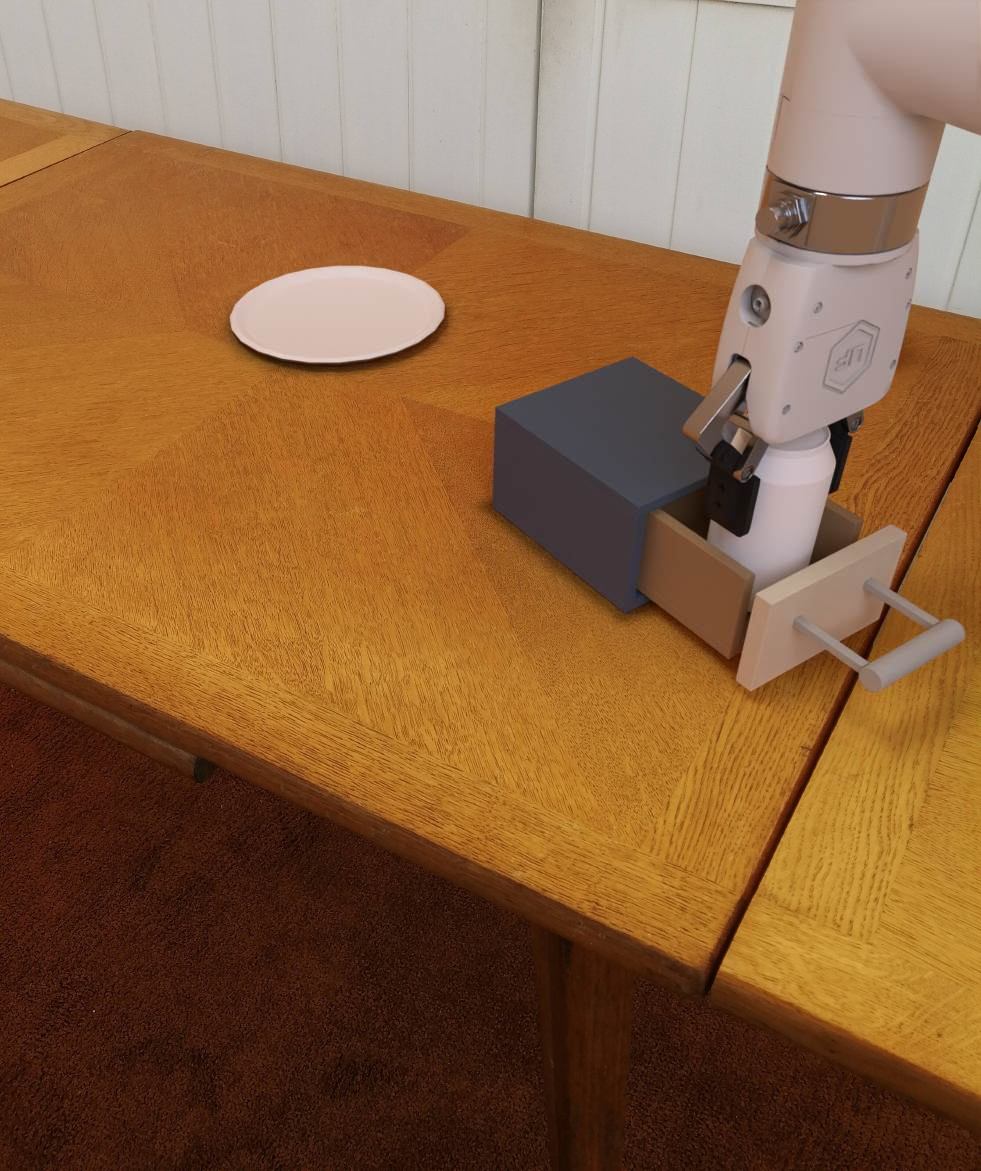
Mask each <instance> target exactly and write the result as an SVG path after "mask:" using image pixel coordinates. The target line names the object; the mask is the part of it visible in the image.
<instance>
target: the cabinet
mask: <svg viewBox="0 0 981 1171" xmlns="http://www.w3.org/2000/svg"><path fill="white" fill-rule="evenodd" d="M705 397H706V396H704V395H702V394H700V393H699V392H697V391H695V390H694V389H691V388H690V387H688V386H686V385H684V384H683V383H681V382H679V381H677V380H675V379H674V378H672V377H670V376H668V375H667V374H665V373H663V372H662V371H660V370H659V369H657V368H655V367H652V366H651V365H650V364H647V363H645V362H644V361H642V360H640V359H638V358H637V357H635V356H629V357H626V358H624V359H621V360H618V361H616V362H613V363H610V364H607V365H605V366H602V367H599V368H597V369H594V370H591V371H589V372H586V373H583V374H580V375H578V376H575V377H572V378H570V379H567V380H564V381H562V382H561V381H560V382H558V383H556V384H554V385H551V386H547V387H545V388H543V389H540V390H537V391H534V392H532V393H529V394H526V395H523V396H521V397H518V398H515V399H513V400H510V401H507V402H505V403H502V404H499V405H497V406H495V408H494V430H493V431H494V433H493V435H494V436H493V439H494V440H493V464H492V465H493V466H492V468H493V470H492V508H493V509H494V510H495V511H496V512H498V514H500V515H501V516H503V518H505V520H508V522H510V523H511V524H512V525H514V526H515V527H516V528H517V529H519V530H520V531H521V532H522V533H524V534H525V535H526V536H527V537H529V538H530V539H531V540H532V541H533V542H535V543H536V544H538V545H539V546H540V547H541V548H542V549H544V550H545V551H546V552H547V553H548V554H549V555H551V556H552V557H553V558H555V559H556V560H557V561H558V562H559V563H561V564H562V565H564V567H566V568H567V569H568V570H570V571H571V572H572V573H574V574H575V575H576V576H577V577H579V578H580V579H581V580H582V581H583V582H585V583H586V584H587V585H588V586H590V587H591V588H592V589H593V590H595V591H596V592H597V593H598V594H599V595H601V596H602V597H604V598H605V599H606V600H607V601H608V602H610V603H611V604H612V605H613V606H615V607H616V608H617V609H618V610H620V611H621V612H622V613H623V614H626V613H629V612H630V611H633V610H634V609H637V608H639V607H641V606H643V605H645V604H647V603H649V602H651V601H652V600H651V599H650V598H648V597H647V596H646V595H644V594H643V593H642V592H641V591H639V590H638V589H637V581H638V574H639V567H640V560H641V553H642V546H643V539H644V532H645V525H646V518H647V513H648V512H650V511H652V510H654V509H657V508H659V507H661V506H663V505H666V504H668V503H670V502H672V501H674V500H677V499H679V498H681V497H683V496H686V495H688V494H690V493H692V492H695V491H697V490H699V489H701V488H703V487H706V486H707V481H708V475H709V470H710V464H711V463H709V462H707V461H706V460H705V459H704V457H703V456H702V455H701V454H700V453H699V452H698V451H697V450H696V449H695V446H694V445H693V444H692V443H691V442H690V441H689V440H688V439H687V438H686V436H685V435H684V434H683V432H682V429H683V426H684V424H685V422H686V421H687V420H688V419H689V417H690V416H691V415H692V414H693V412H694V411H695V410H696V409H697V407H698V406H699V405H700V404H701V402H702V401H703V400H704V399H705Z"/></svg>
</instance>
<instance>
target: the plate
mask: <svg viewBox="0 0 981 1171" xmlns="http://www.w3.org/2000/svg"><path fill="white" fill-rule="evenodd" d="M445 309H446V303H445V301H444V300H443V298H442V296H441V294H440V292H438V291H437V290H436V289H435V288H434V287H432V286H431V285H430V284H429V283H428V282H426V281H425V280H423V279H420V278H418V277H415V276H413V275H410V274H408V273H405V272H401V271H397V270H392V269H389V268H385V267H384V268H383V267H375V266H367V265H331V266H323V267H313V268H307V269H302V270H299V271H294V272H290V273H285V274H283V275H280V276H277V277H275V278H272V279H269V280H267V281H264V282H262V283H261V284H259V285H257V286H255V287H254V288H252V289H251V290H249V291H247V292H246V293H245V294H244V295H243V296H242V297H241V298H240V299H239V300H238V301H237V302H236V303H234V306H233V308H232V311H231V313H230V314H229V323H230V328H231V332H232V333H233V334H234V336H235V337H236V338H237V339H238V340H239V342H240V343H241V344H243V345H244V346H246V347H247V348H250V349H251V350H252V351H254V352H256V353H258V354H259V355H262V356H266V357H269V358H273V359H276V360H279V361H283V362H286V363H287V362H288V363H295V364H303V365H309V366H342V365H351V364H358V363H365V362H373V361H376V360H379V359H383V358H388V357H391V356H395V355H397V354H400V353H403V352H405V351H406V350H409V349H411V348H413V347H416V346H418V345H419V344H421V343H422V342H423V341H425V340H426V339H428V338H429V337H431V336H432V335H433V334H435V332H436V331H437V330H438V328H439V327H440V326H441V324H442V323H443V321H444V320H445Z"/></svg>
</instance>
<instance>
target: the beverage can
mask: <svg viewBox="0 0 981 1171" xmlns="http://www.w3.org/2000/svg"><path fill="white" fill-rule="evenodd" d="M746 415H748V413H746ZM751 436H752V434H750V433H748V432H746V431H745V430H743V429H741V428H740V427H739V429H738V431H737V433H736V435H735V437H734V439H733V440H732V442H731V445H732V446H734V447H735V448H736V449H737V450H738V451H739V452H740V453H741V454H742V453H743V451H744V449H745V447H746V445H747V443H748V441H749V440H750V438H751ZM829 440H830V430H829V428H828V426H825V427H823V428H820V429H818V430H816V431H813V432H811V433H809V434H806V435H804V436H802V437H799V438H797V439H794V440H792V441H789V442H786V443H782V444H777V445H772V444H770V445H769V446H768V448H767V450H766V452H765V454H764V456H763V458H762V460H761V462H760V463H759V465H758V467H757V469H756V471H755V473H754V475H756V476H757V477H759V478H760V479H761V481H760V487H759V491H758V496H757V500H756V505H755V509H754V514H753V518H752V523H751V528H750V530H749V533H748V534H746V535H744V536H742V537H737V536H735V535H734V534H732V533H731V532H729V531H728V530H726V529H725V528H723V527H722V526H720V525H719V524H717V523H716V522H714V521H713V520H711V521H710V526H709V531H708V537H707V541H708V542H709V543H711V544H712V545H714V546H715V547H716V548H718V549H719V550H721V551H722V552H724V553H725V554H727V555H728V556H730V557H731V558H732V559H734V560H735V561H737V562H738V563H740V564H741V565H743V566H744V567H746V568H747V569H749V570H750V571H751V572H753V573H754V574H755V580H754V584H753V588H752V593H751V597H750V601H749V606H748V610H747V612H752V608H753V604H754V599H755V595H756V593H758V592H760V591H762V590H764V589H766V588H767V587H769V586H771V585H773V584H775V583H777V582H779V581H781V580H783V579H785V578H787V577H789V576H791V575H793V574H795V573H797V572H799V571H801V570H802V569H804V568H806V567H808V566H809V562H810V559H811V555H812V551H813V548H814V544H815V540H816V537H817V533H818V529H819V525H820V522H821V518H822V514H823V511H824V507H825V503H826V499H827V498H828V495H829V494H828V492H829V488H830V485H831V481H832V477H833V473H834V470H835V465H836V460H835V456H834V453H833V450H832V447H831V444H830V441H829Z"/></svg>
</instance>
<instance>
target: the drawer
mask: <svg viewBox="0 0 981 1171" xmlns="http://www.w3.org/2000/svg"><path fill="white" fill-rule="evenodd" d="M705 492H706V487H703V488H701V489H699V490H697V491H695V492H692V493H690V494H688V495H686V496H683V497H681V498H679V499H677V500H674V501H672V502H670V503H668V504H666V505H663V506H661V507H659V508H657V509H654V510H652V511H650V512H648V513H647V518H646V525H645V532H644V539H643V546H642V553H641V560H640V567H639V574H638V581H637V589H638V590H639V591H641V592H642V593H643V594H644V595H646V596H647V597H648V598H650V599H651V601H652V602H654V604H656V605H657V606H659V607H660V608H661V609H662V610H664V611H665V612H666V613H667V614H669V615H670V616H672V617H673V618H674V619H675V620H677V621H678V622H679V623H681V624H682V625H683V626H684V627H686V628H687V629H688V630H690V631H691V632H692V633H693V634H695V635H696V636H698V637H699V638H700V639H702V640H703V641H704V642H705V643H707V644H708V645H709V646H711V647H712V648H713V649H714V650H715V651H717V652H718V653H720V654H721V655H722V656H723V657H725V658H726V659H727V660H730V659H732V658H733V657H735V656H737V655H739V654H741V655H740V660H739V663H738V668H737V672H736V678H735V681H736V682H737V683H739V685H741V686H742V687H743V688H745V689H746V690H747V691H749V692H752V691H755V690H757V688H761V687H762V686H763V685H765V684H767V683H768V682H770V681H772V680H774V679H775V678H777V677H779V676H781V675H783V674H784V673H786V672H789V671H790V670H792V669H793V668H795V667H797V666H799V665H801V664H802V663H804V662H806V661H808V660H810V659H811V658H813V657H815V656H816V655H818V654H820V653H822V652H823V651H826V652H828V653H830V654H831V655H832V656H834V657H835V658H837V659H838V660H839V661H841V662H842V663H844V665H846V666H848V667H849V668H851V669H852V670H853V671H855V672H856V673H858V679H859V682H860V684H861V686H862V687H863V688H865V689H866V690H867V691H868V692H871V693H879V692H881V691H883V690H885V689H886V688H888V687H889V686H891V685H893V684H895V683H896V682H898V681H899V680H901V679H902V678H904V677H906V676H908V675H910V674H911V673H913V672H914V671H916V670H918V669H919V668H921V667H922V666H924V665H926V664H928V663H929V662H931V661H932V660H934V659H936V658H938V657H939V656H941V655H943V654H944V653H946V652H947V651H949V650H951V649H953V648H954V647H956V646H957V645H960V644H961V643H962V642H963V641H964V640H965V638H966V630H965V628H964V627H963V625H962V624H961V623H960V622H959V621H957V620H955V619H953V618H946V619H943V620H940V619H938V618H936V617H935V616H933V615H932V614H930V613H929V612H927V611H925V610H923V609H922V608H921V607H919V606H917V605H916V604H914V603H912V602H911V601H909V600H908V599H906V598H905V597H904V596H902V595H899V593H897V592H895V591H893V590H892V589H890V587H891V584H892V582H893V579H894V576H895V573H896V569H897V567H898V564H899V560H900V558H901V555H902V552H903V549H904V546H905V542H906V540H907V537H908V532H906V531H905V530H903V529H901V528H899V527H897V526H896V525H894V524H892V523H890V524H889V525H886V526H884V527H882V528H880V529H878V530H876V531H875V532H872V533H871V534H869V535H867V536H864V537H863V538H861V539H860V535H861V532H862V529H863V525H864V521H865V519H864V518H862V517H860V516H859V515H857V514H855V513H853V511H850V510H849V509H847V508H845V507H844V506H842V505H840V504H838V503H837V502H835V501H833V500H831V499H830V498H828V497H827V499H826V503H825V507H824V511H823V514H822V518H821V522H820V525H819V529H818V533H817V537H816V540H815V544H814V548H813V551H812V555H811V559H810V562H809V566H808V567H806V568H804V569H802V570H801V571H799V572H797V573H795V574H793V575H791V576H789V577H787V578H785V579H783V580H781V581H779V582H777V583H775V584H773V585H771V586H769V587H767V588H766V589H764V590H762V591H760V592H758V593H756V595H755V599H754V604H753V608H752V612H747V610H748V606H749V601H750V597H751V593H752V588H753V584H754V580H755V574H754V573H753V572H751V571H750V570H749V569H747V568H746V567H744V566H743V565H741V564H740V563H738V562H737V561H735V560H734V559H732V558H731V557H730V556H728V555H727V554H725V553H724V552H722V551H721V550H719V549H718V548H716V547H715V546H714V545H712V544H711V543H709V542H708V541H707V537H708V531H709V526H710V521H711V519H710V518H708V517H707V516H706V515H705V514H704V513H703V503H704V497H705ZM885 603H886V605H888V606H889V607H892V608H893V609H894V610H895V611H897V612H899V613H901V614H902V615H903V616H905V617H907V618H908V619H910V620H912V621H913V622H915V623H916V624H918V625H919V626H920V627H922V628H924V629H925V631H923V632H921V633H920V634H918V635H916V636H914V637H913V638H910V640H909V639H908V641H906V642H904V643H902V644H901V645H899V646H897V647H895V648H894V649H892V650H889V652H887V653H885V654H883V655H882V656H880V657H879V658H876V659H874V660H873V661H872V662H869V661H868V660H866V658H864V657H863V656H860V655H859V654H858V653H856V652H855V651H853V650H852V649H851V648H849V647H848V646H846V645H845V644H843V643H842V642H841V641H843V640H845V639H847V638H848V637H851V636H852V635H854V634H856V633H857V632H859V631H861V630H862V629H864V628H866V627H868V626H869V625H871V624H873V623H875V622H877V621H878V620H880V618H881V614H882V611H883V609H884V605H885Z"/></svg>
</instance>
